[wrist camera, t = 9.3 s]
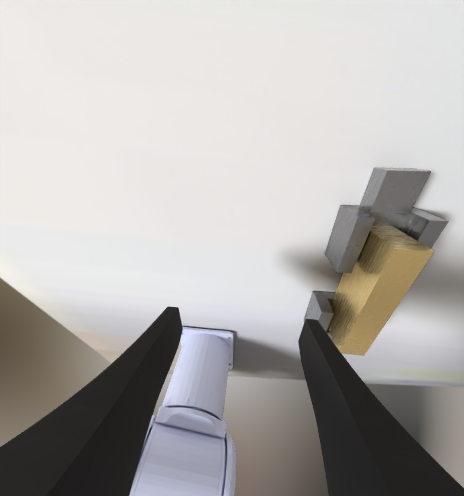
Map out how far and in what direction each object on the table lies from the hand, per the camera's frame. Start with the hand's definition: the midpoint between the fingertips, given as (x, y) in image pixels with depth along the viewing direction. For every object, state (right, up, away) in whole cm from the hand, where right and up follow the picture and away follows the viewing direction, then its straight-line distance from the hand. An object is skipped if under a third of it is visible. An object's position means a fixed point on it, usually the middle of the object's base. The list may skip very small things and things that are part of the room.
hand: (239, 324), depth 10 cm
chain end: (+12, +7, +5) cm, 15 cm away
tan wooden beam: (+12, +1, +8) cm, 14 cm away
